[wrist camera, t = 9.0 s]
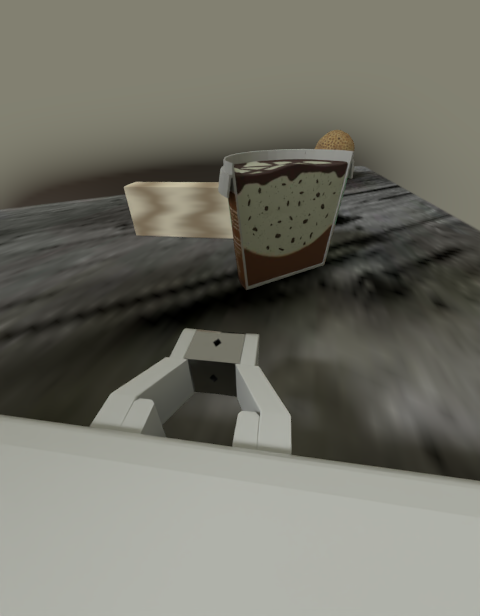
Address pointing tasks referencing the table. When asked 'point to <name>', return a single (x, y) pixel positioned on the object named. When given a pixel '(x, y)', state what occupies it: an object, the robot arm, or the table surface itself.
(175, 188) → the birch board
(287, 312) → the table surface
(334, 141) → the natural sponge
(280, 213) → the food container
